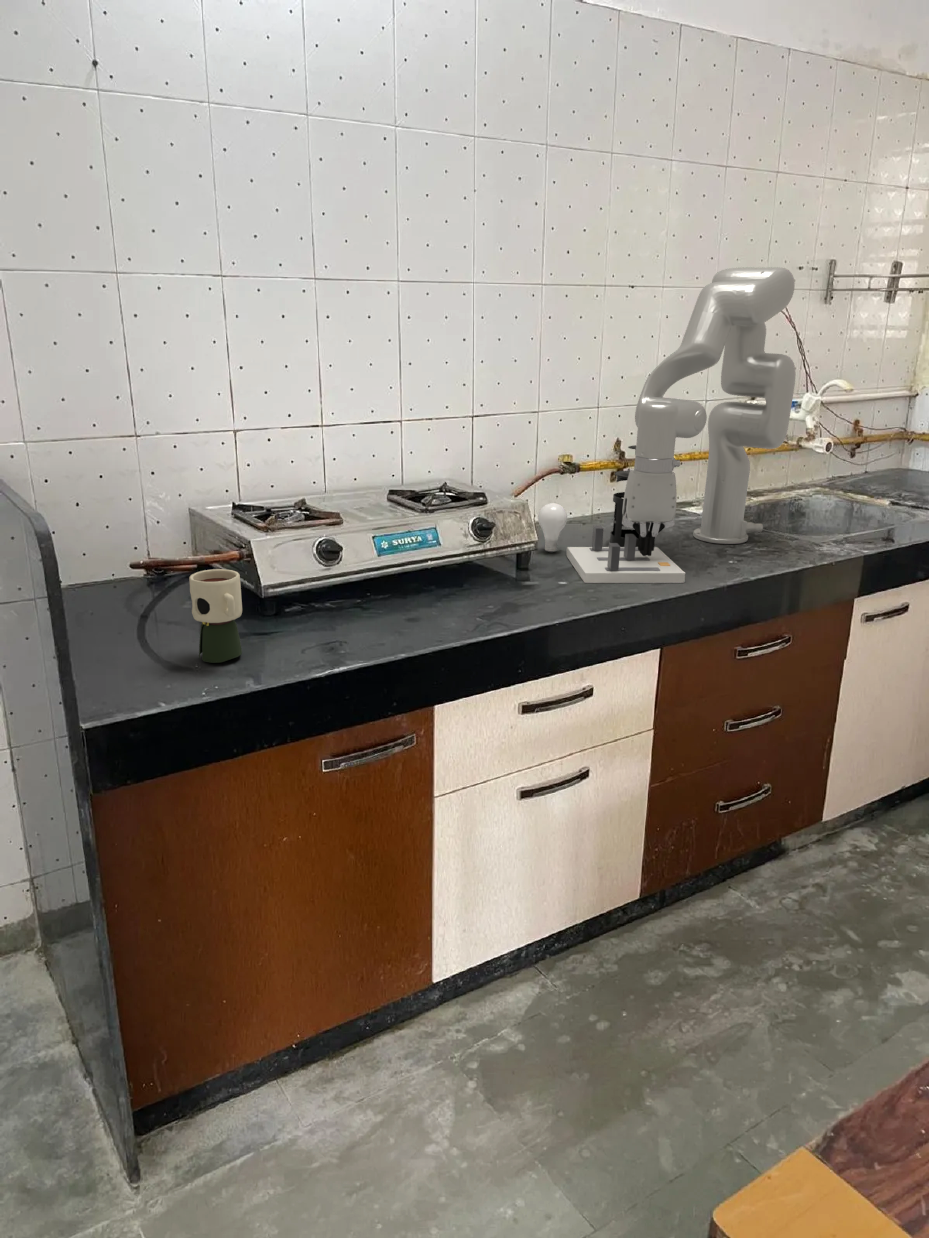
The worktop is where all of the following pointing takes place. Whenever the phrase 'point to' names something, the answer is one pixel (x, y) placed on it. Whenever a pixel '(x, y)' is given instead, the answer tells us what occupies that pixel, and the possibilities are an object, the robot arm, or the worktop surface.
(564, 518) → the lightbulb
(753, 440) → the robot arm
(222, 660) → the character mug
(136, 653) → the worktop surface
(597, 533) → the breaker
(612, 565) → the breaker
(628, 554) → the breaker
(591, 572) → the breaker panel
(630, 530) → the french press
